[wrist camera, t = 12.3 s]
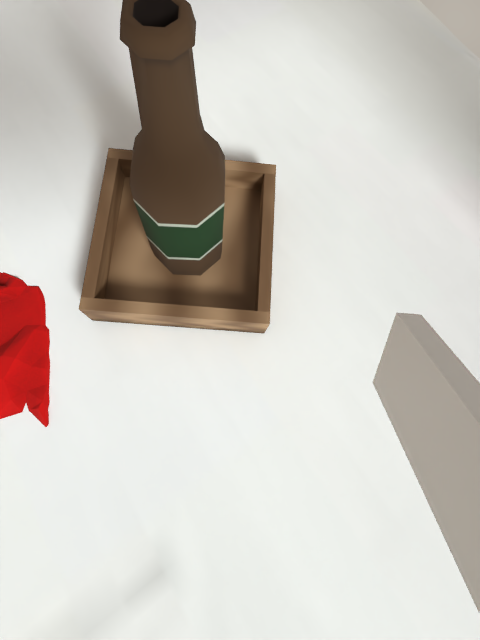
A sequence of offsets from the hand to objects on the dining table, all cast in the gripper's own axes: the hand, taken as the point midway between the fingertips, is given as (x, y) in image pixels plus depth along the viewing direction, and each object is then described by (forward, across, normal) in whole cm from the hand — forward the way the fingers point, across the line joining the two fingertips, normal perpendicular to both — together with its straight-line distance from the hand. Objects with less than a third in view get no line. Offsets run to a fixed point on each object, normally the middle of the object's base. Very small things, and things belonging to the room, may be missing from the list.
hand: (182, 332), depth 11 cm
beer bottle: (+29, -4, -7) cm, 30 cm away
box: (+29, -4, -8) cm, 31 cm away
